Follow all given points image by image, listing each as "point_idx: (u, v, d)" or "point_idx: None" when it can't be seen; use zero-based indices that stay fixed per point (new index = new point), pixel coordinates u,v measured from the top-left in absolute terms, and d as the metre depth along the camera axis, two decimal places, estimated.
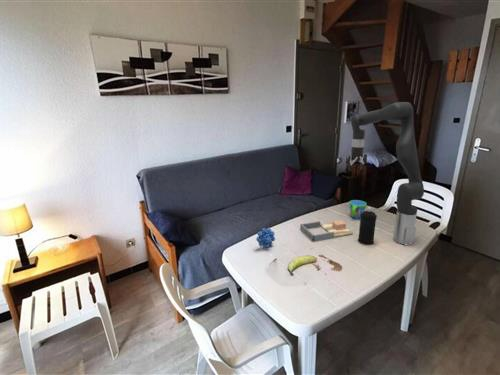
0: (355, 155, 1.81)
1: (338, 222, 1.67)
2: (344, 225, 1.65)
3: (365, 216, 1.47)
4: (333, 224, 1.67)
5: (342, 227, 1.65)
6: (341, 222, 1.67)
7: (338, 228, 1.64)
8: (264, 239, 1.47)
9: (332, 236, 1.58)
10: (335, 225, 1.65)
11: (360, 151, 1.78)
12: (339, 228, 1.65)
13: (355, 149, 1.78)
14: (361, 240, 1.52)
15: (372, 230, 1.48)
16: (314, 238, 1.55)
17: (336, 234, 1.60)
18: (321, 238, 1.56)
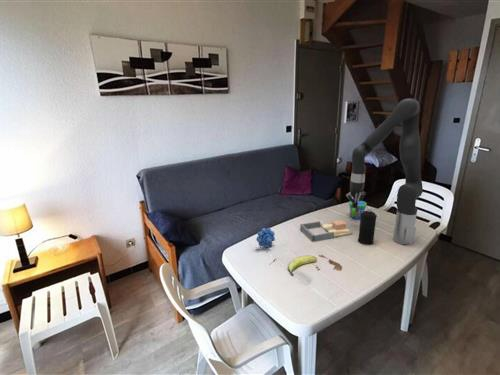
0: (354, 191, 1.62)
1: (338, 222, 1.67)
2: (344, 225, 1.65)
3: (365, 216, 1.47)
4: (333, 224, 1.67)
5: (342, 227, 1.65)
6: (341, 222, 1.67)
7: (338, 228, 1.64)
8: (264, 239, 1.47)
9: (332, 236, 1.58)
10: (335, 225, 1.65)
11: (360, 187, 1.59)
12: (339, 228, 1.65)
13: (354, 184, 1.59)
14: (361, 240, 1.52)
15: (372, 230, 1.48)
16: (314, 238, 1.55)
17: (336, 234, 1.60)
18: (321, 238, 1.56)
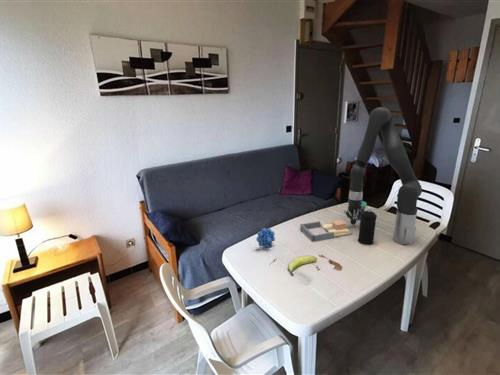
0: (352, 208, 1.65)
1: (338, 222, 1.67)
2: (344, 225, 1.65)
3: (365, 216, 1.47)
4: (333, 224, 1.67)
5: (342, 227, 1.65)
6: (341, 222, 1.67)
7: (338, 228, 1.64)
8: (264, 239, 1.47)
9: (332, 236, 1.58)
10: (335, 225, 1.65)
11: (358, 204, 1.62)
12: (339, 228, 1.65)
13: (352, 202, 1.62)
14: (361, 240, 1.52)
15: (372, 230, 1.48)
16: (314, 238, 1.55)
17: (336, 234, 1.60)
18: (321, 238, 1.56)
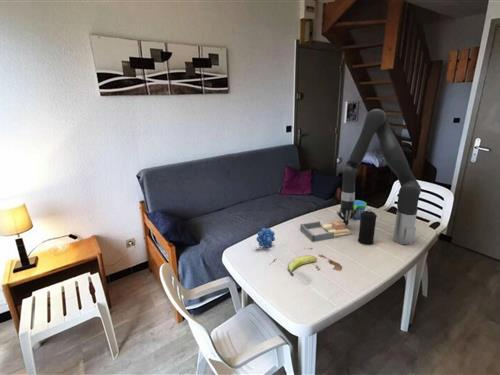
0: (345, 209, 1.64)
1: (337, 222, 1.67)
2: (343, 225, 1.65)
3: (365, 216, 1.47)
4: (332, 224, 1.67)
5: (341, 227, 1.65)
6: (340, 222, 1.66)
7: (337, 228, 1.64)
8: (264, 239, 1.47)
9: (332, 236, 1.58)
10: (335, 225, 1.65)
11: (350, 205, 1.61)
12: (338, 228, 1.65)
13: (345, 203, 1.61)
14: (361, 240, 1.52)
15: (372, 230, 1.48)
16: (314, 238, 1.55)
17: (336, 234, 1.60)
18: (321, 238, 1.56)
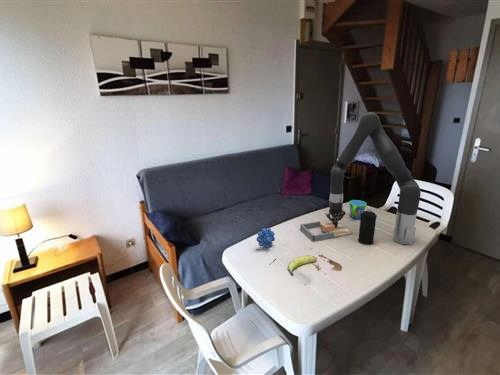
0: (333, 210, 1.62)
1: (327, 224, 1.64)
2: (333, 227, 1.63)
3: (365, 216, 1.47)
4: (322, 226, 1.65)
5: (331, 229, 1.63)
6: (330, 224, 1.64)
7: (327, 230, 1.62)
8: (264, 239, 1.47)
9: (332, 236, 1.58)
10: (324, 227, 1.63)
11: (338, 207, 1.59)
12: (328, 230, 1.62)
13: (333, 204, 1.59)
14: (361, 240, 1.52)
15: (372, 230, 1.48)
16: (314, 238, 1.55)
17: (336, 234, 1.60)
18: (321, 238, 1.56)
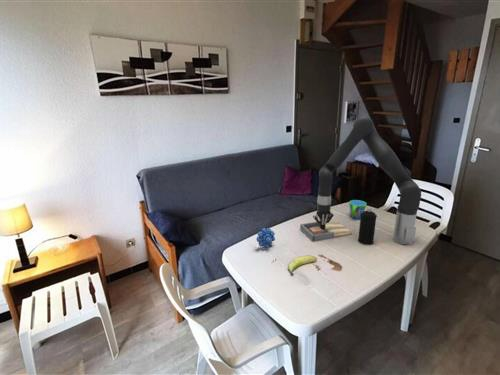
0: (321, 212, 1.59)
1: (315, 228, 1.63)
2: (321, 231, 1.61)
3: (365, 216, 1.47)
4: (310, 230, 1.64)
5: None
6: (318, 228, 1.63)
7: None
8: (264, 239, 1.47)
9: (332, 236, 1.58)
10: (312, 231, 1.61)
11: (326, 209, 1.57)
12: None
13: (321, 207, 1.57)
14: (361, 240, 1.52)
15: (372, 230, 1.48)
16: (314, 238, 1.55)
17: (336, 234, 1.60)
18: (321, 238, 1.56)
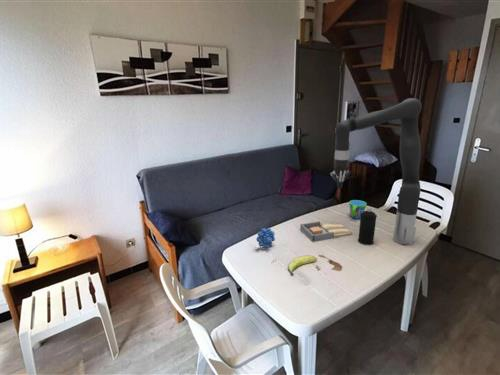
0: (339, 169, 1.54)
1: (315, 228, 1.63)
2: (321, 231, 1.61)
3: (365, 216, 1.47)
4: (310, 230, 1.64)
5: (319, 233, 1.61)
6: (318, 228, 1.63)
7: None
8: (264, 239, 1.46)
9: (332, 236, 1.58)
10: (312, 231, 1.61)
11: (344, 164, 1.51)
12: None
13: (338, 162, 1.52)
14: (361, 240, 1.52)
15: (372, 230, 1.48)
16: (314, 238, 1.55)
17: (336, 234, 1.60)
18: (321, 238, 1.56)
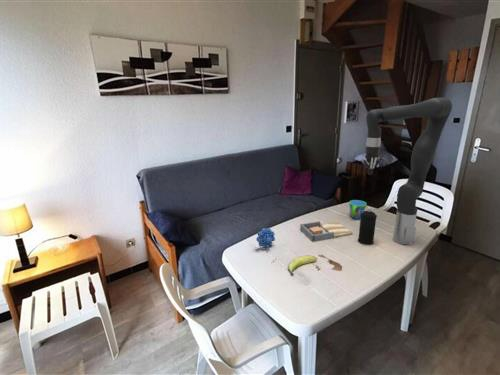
0: (370, 156, 1.60)
1: (315, 228, 1.63)
2: (321, 231, 1.61)
3: (365, 216, 1.47)
4: (310, 230, 1.64)
5: (319, 233, 1.61)
6: (318, 228, 1.63)
7: None
8: (264, 239, 1.47)
9: (332, 236, 1.58)
10: (312, 231, 1.61)
11: (376, 151, 1.57)
12: None
13: (370, 149, 1.57)
14: (361, 240, 1.52)
15: (372, 230, 1.48)
16: (314, 238, 1.55)
17: (336, 234, 1.60)
18: (321, 238, 1.56)
